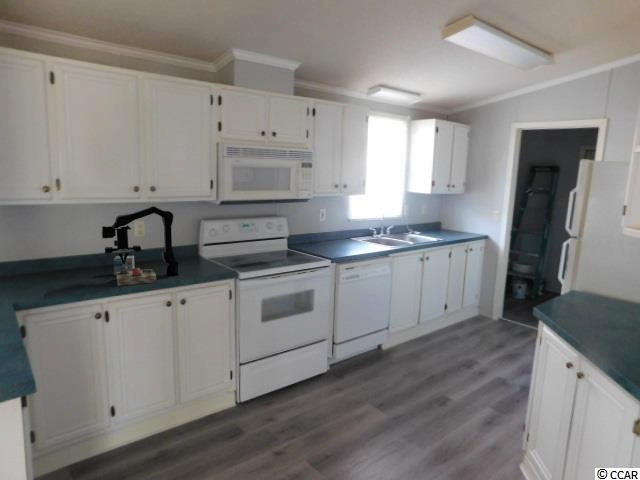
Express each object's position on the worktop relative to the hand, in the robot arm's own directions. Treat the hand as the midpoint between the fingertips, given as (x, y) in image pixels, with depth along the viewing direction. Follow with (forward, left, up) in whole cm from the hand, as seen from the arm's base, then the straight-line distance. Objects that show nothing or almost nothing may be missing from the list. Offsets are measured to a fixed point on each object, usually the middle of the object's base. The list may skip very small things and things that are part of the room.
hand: (123, 263), depth 235 cm
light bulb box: (-1, -16, -10) cm, 19 cm away
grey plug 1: (0, 0, -6) cm, 6 cm away
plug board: (-6, +4, -10) cm, 12 cm away
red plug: (-6, +8, -6) cm, 12 cm away
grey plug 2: (-12, 0, -9) cm, 15 cm away
